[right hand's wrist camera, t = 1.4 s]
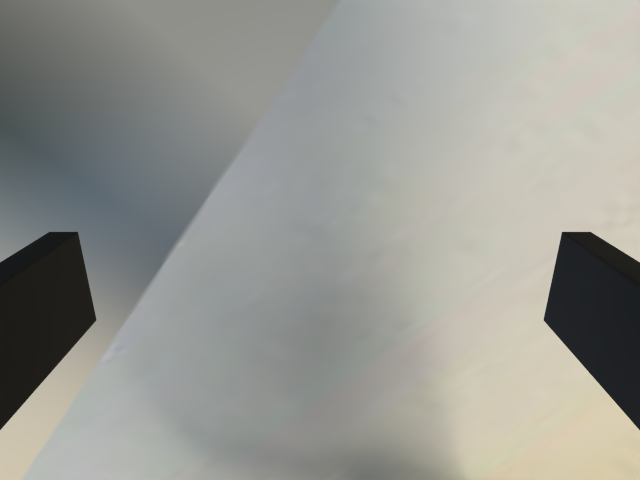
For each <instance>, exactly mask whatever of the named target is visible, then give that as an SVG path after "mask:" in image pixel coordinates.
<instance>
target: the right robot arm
mask: <svg viewBox="0 0 640 480" xmlns="http://www.w3.org/2000/svg"><path fill="white" fill-rule="evenodd" d="M95 321H96V316H95V312H94V307H93V302H92V297H91V292H90V288H89V283H88V278H87V274H86V269H85V264H84V259H83V254H82V250H81V245H80V240H79V235H78V232H49V233H47V234H46V235H44V236H42V237H41V238H39V239H38V240H36V241H34V242H33V243H31V244H29V245H28V246H26V247H25V248H23V249H21V250H20V251H18V252H16V253H15V254H13V255H12V256H10V257H8V258H7V259H5V260H4V261H2V262H0V430H1V429H2V427H3V426H4V425H5V424H6V423H7V422H8V421H9V419H10V418H11V417H12V416H13V415H14V414H15V413H16V411H17V410H18V409H19V408H20V407H21V406H22V404H23V403H24V402H25V401H26V400H27V399H28V398H29V396H30V395H31V394H32V393H33V392H34V391H35V390H36V388H37V387H38V386H39V385H40V384H41V383H42V382H43V381H44V379H45V378H46V377H47V376H48V375H49V374H50V373H51V371H52V370H53V369H54V368H55V367H56V366H57V364H58V363H59V362H60V361H61V360H62V359H63V358H64V356H65V355H66V354H67V353H68V352H69V351H70V350H71V349H72V347H73V346H74V345H75V344H76V343H77V342H78V341H79V339H80V338H81V337H82V336H83V335H84V334H85V332H86V331H87V330H88V329H89V328H90V327H91V326H92V325H93V323H94V322H95ZM544 321H545V322H546V323H547V325H548V326H549V327H550V328H551V329H552V330H553V331H554V333H555V334H556V335H557V336H558V337H559V338H560V339H561V341H562V342H563V343H564V344H565V345H566V346H567V347H568V349H569V350H570V351H571V352H572V353H573V354H574V355H575V357H576V358H577V359H578V360H579V361H580V362H581V363H582V365H583V366H584V367H585V368H586V369H587V370H588V371H589V373H590V374H591V375H592V376H593V377H594V378H595V379H596V381H597V382H598V383H599V384H600V385H601V386H602V387H603V389H604V390H605V391H606V392H607V393H608V394H609V395H610V397H611V398H612V399H613V400H614V401H615V402H616V403H617V405H618V406H619V407H620V408H621V409H622V410H623V411H624V413H625V414H626V415H627V416H628V417H629V418H630V419H631V421H632V422H633V423H634V424H635V425H636V426H637V427H638V429H639V430H640V262H638V261H636V260H635V259H633V258H632V257H630V256H628V255H627V254H625V253H624V252H622V251H620V250H619V249H617V248H615V247H614V246H612V245H611V244H609V243H607V242H606V241H604V240H603V239H601V238H599V237H598V236H596V235H594V234H593V233H591V232H562V235H561V240H560V245H559V250H558V254H557V259H556V264H555V269H554V273H553V278H552V283H551V288H550V292H549V297H548V302H547V307H546V311H545V316H544Z"/></svg>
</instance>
